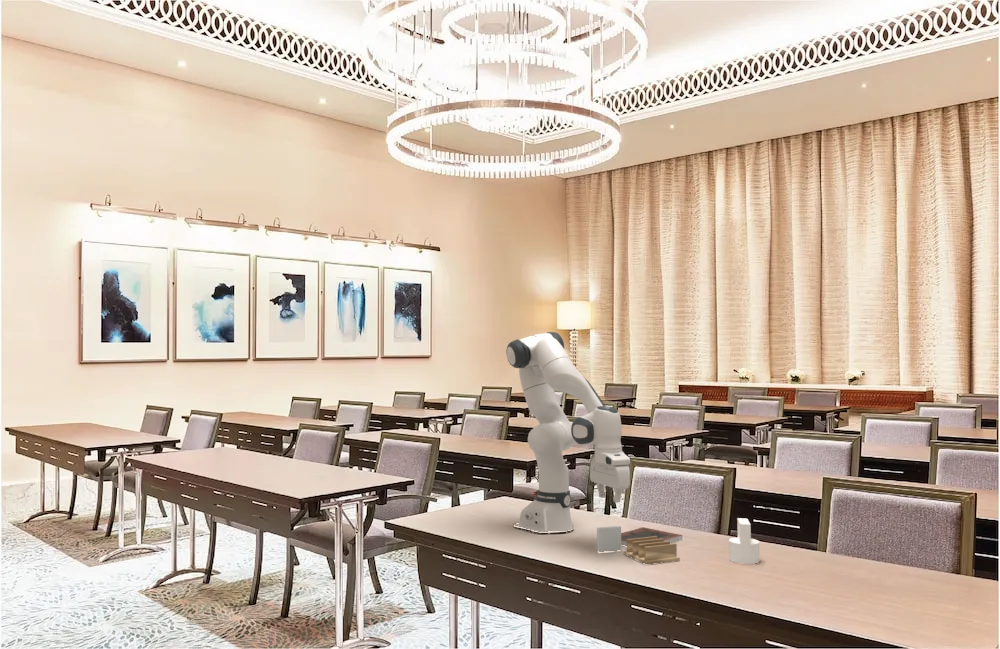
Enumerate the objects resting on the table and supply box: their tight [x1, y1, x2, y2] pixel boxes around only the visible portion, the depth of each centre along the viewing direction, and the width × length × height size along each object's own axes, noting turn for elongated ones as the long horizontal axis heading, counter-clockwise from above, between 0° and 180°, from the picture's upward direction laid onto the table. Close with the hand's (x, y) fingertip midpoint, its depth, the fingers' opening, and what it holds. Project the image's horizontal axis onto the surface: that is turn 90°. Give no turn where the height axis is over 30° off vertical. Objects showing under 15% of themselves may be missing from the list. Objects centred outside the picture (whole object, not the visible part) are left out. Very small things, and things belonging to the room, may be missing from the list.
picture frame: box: [621, 527, 683, 546], centre depth 259 cm, size 16×2×22 cm
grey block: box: [596, 525, 622, 552], centre depth 245 cm, size 2×8×8 cm, turn 111°
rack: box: [623, 536, 681, 565], centre depth 238 cm, size 13×12×5 cm
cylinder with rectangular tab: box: [728, 517, 761, 565], centre depth 235 cm, size 9×9×12 cm
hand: (609, 499), depth 245 cm, fingers open, 8 cm apart
